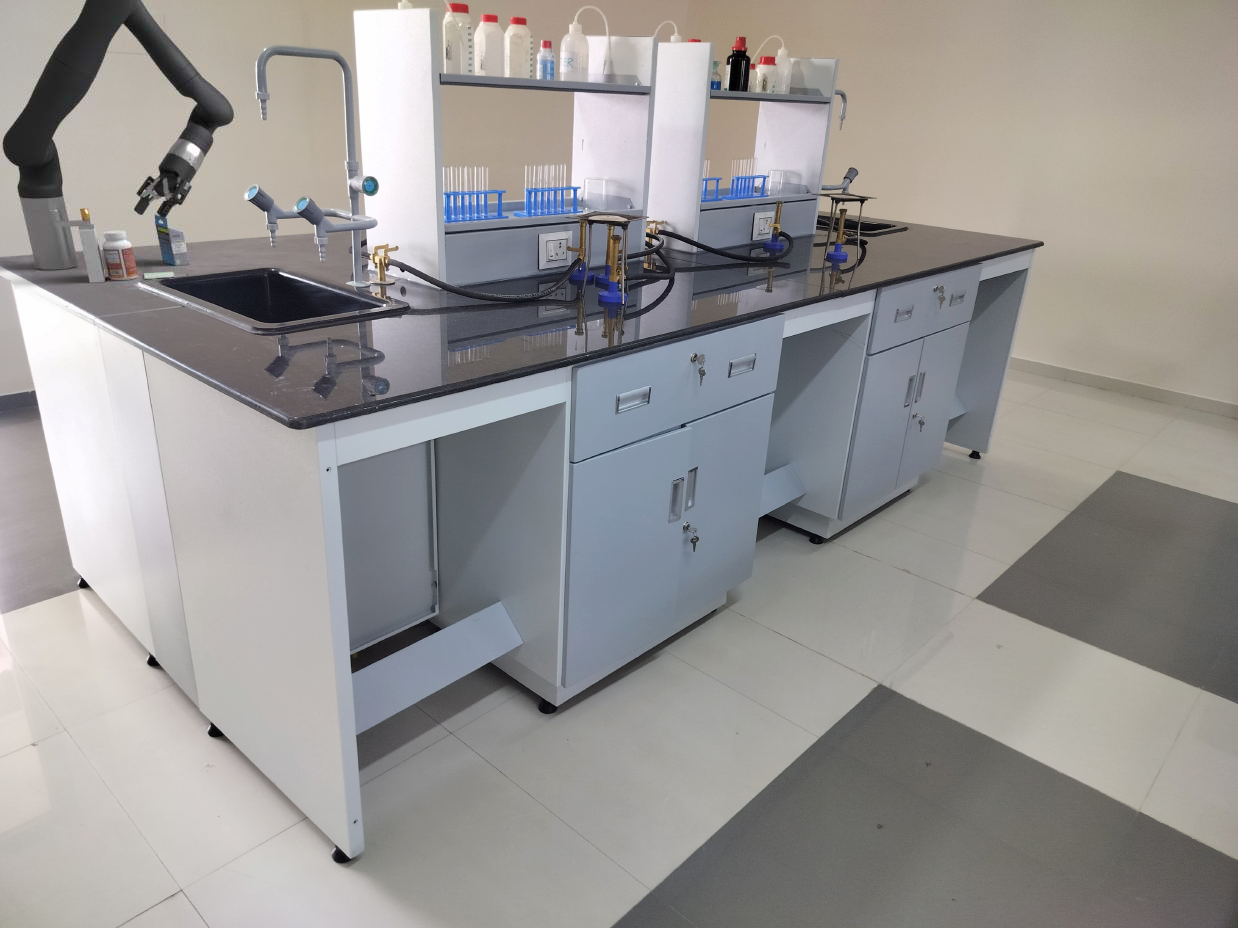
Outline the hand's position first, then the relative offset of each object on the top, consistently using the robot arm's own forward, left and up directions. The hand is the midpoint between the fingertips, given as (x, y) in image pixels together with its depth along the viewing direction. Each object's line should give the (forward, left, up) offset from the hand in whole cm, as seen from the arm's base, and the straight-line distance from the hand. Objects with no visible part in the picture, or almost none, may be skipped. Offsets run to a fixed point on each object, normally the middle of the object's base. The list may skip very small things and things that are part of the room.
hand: (149, 214), depth 211 cm
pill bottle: (+6, -8, -14) cm, 17 cm away
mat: (+6, 0, -14) cm, 15 cm away
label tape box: (-12, +4, -14) cm, 19 cm away
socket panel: (+4, -13, -14) cm, 20 cm away
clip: (+6, -16, -1) cm, 17 cm away
